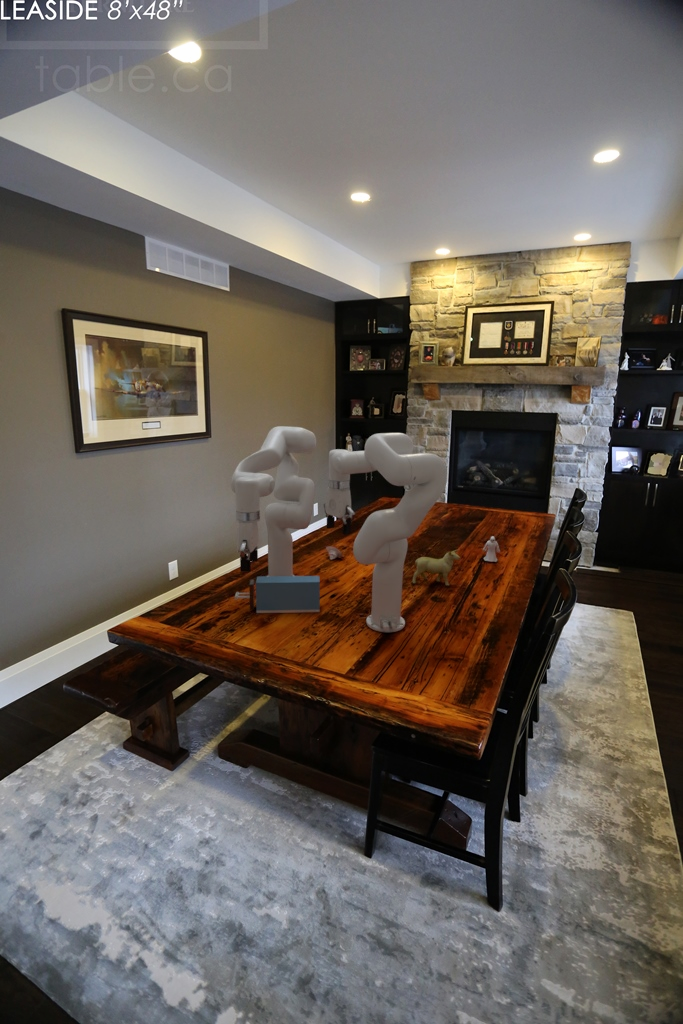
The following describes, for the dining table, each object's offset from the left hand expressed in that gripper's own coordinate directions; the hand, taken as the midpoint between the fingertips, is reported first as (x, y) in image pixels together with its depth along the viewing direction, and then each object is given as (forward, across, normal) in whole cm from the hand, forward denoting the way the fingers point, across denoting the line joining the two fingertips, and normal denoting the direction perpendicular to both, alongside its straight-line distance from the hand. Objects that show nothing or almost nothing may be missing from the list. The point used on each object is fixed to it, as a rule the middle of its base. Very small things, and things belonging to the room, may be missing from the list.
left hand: (249, 566), depth 164 cm
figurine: (+17, -64, +94) cm, 115 cm away
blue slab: (+17, -5, +12) cm, 21 cm away
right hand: (-7, -21, +28) cm, 36 cm away
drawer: (+16, -4, +7) cm, 18 cm away
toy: (+17, -33, +65) cm, 75 cm away
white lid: (+17, -59, +23) cm, 65 cm away
